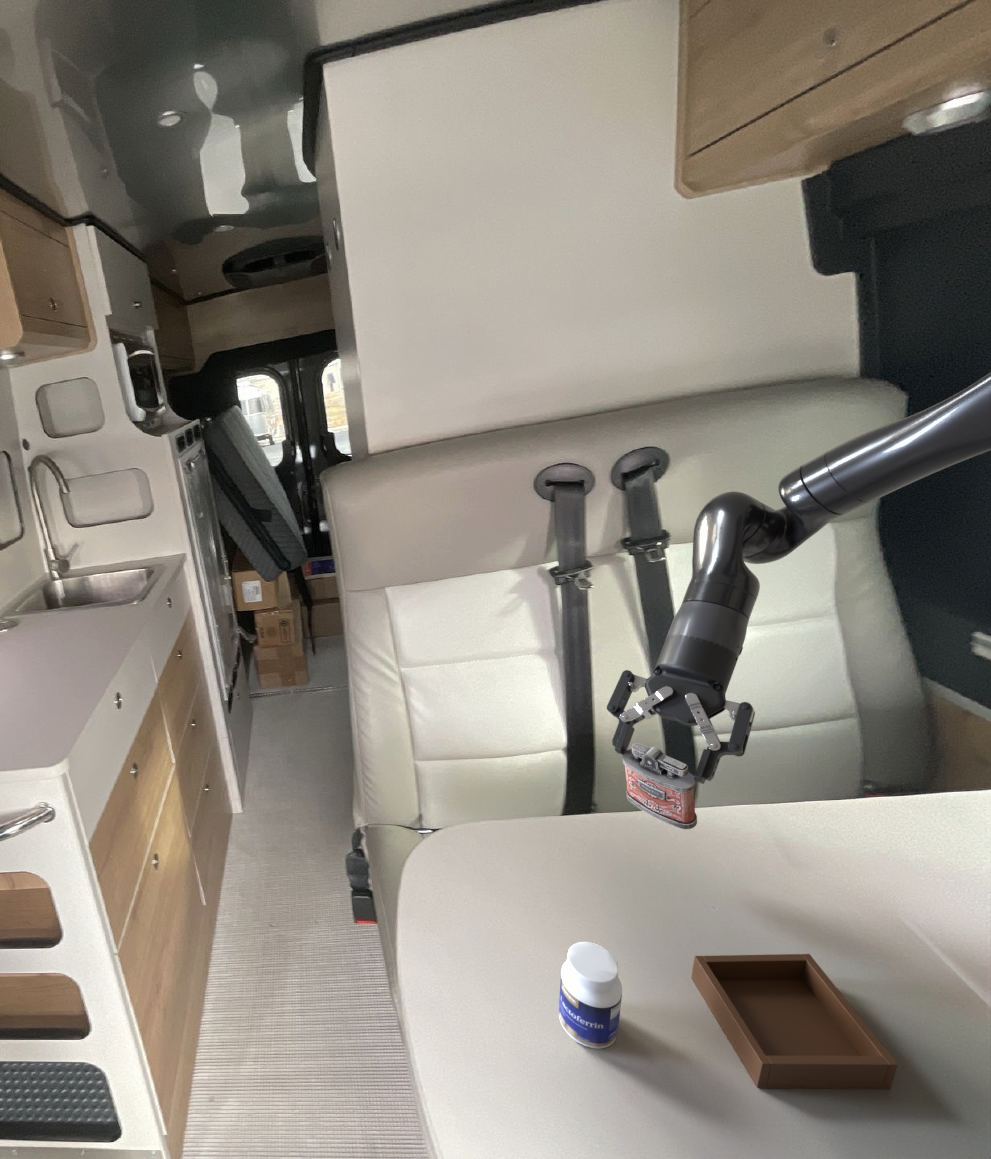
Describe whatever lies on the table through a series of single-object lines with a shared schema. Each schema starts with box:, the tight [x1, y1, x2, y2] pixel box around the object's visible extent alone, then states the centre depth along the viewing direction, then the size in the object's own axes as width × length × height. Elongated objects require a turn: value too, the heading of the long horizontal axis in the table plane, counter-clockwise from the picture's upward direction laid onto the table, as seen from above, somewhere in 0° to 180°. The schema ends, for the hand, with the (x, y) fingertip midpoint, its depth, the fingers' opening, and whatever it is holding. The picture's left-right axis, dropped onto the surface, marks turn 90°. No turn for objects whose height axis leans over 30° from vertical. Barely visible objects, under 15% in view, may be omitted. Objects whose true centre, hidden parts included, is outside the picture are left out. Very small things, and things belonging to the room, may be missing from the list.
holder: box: [690, 953, 899, 1090], centre depth 69 cm, size 12×12×4 cm
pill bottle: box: [558, 941, 623, 1050], centre depth 71 cm, size 6×6×10 cm
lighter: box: [621, 742, 698, 830], centre depth 81 cm, size 8×3×10 cm, turn 30°
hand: (657, 766), depth 80 cm, fingers closed on lighter, 8 cm apart
